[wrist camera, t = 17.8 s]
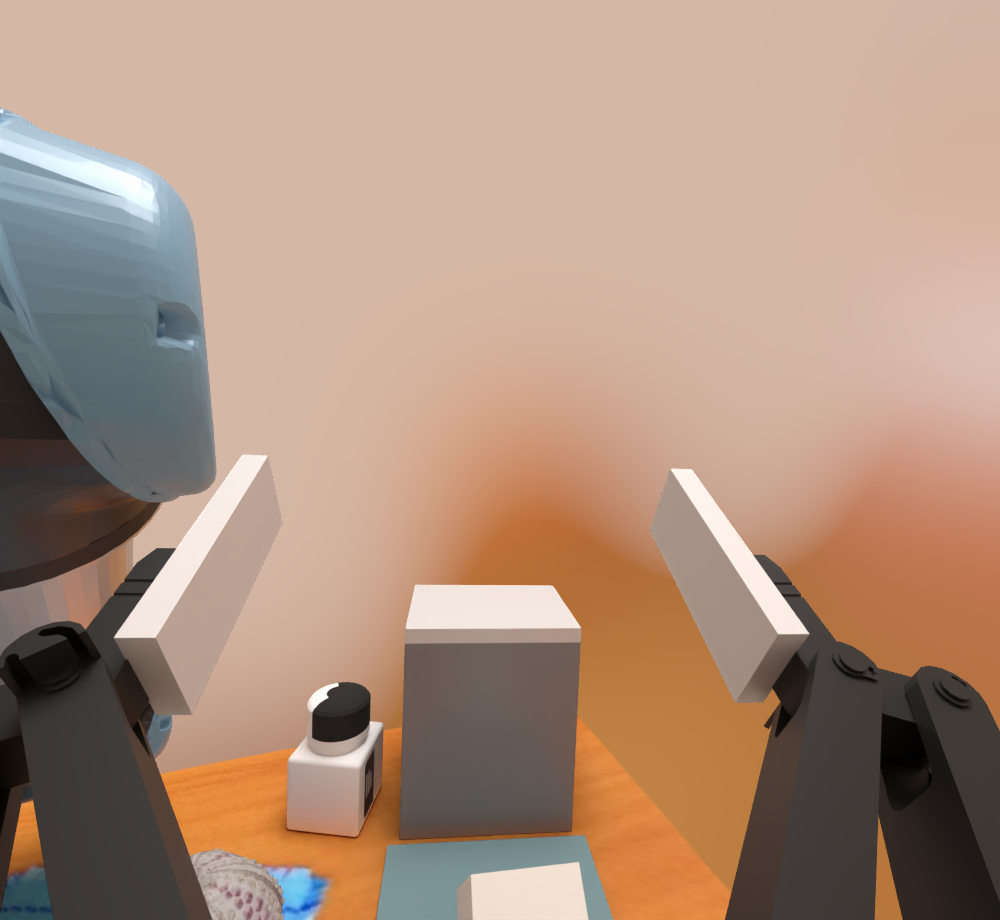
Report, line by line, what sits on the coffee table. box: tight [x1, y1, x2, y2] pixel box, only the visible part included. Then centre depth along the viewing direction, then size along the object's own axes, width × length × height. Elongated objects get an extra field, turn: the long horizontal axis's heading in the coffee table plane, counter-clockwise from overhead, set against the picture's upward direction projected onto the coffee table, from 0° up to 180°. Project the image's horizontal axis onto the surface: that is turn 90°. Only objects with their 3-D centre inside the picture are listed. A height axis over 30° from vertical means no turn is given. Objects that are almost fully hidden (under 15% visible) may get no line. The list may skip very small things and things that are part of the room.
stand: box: [399, 585, 581, 840], centre depth 56 cm, size 14×18×22 cm
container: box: [287, 682, 383, 837], centre depth 53 cm, size 8×8×13 cm
